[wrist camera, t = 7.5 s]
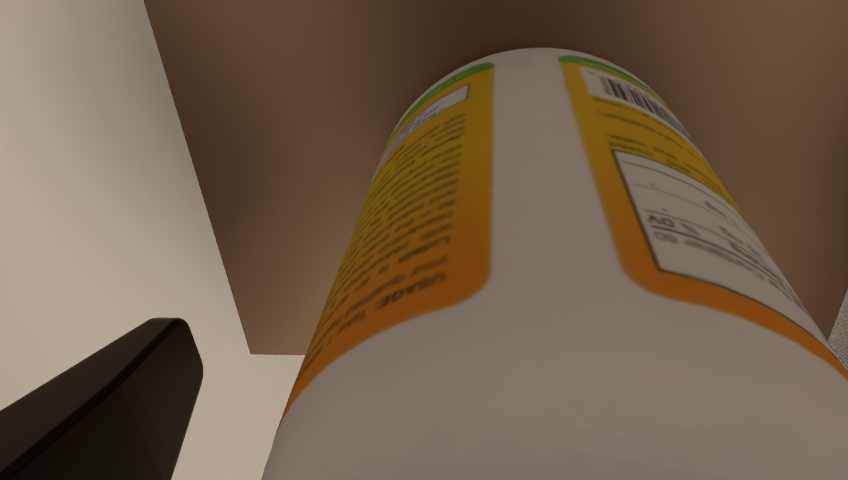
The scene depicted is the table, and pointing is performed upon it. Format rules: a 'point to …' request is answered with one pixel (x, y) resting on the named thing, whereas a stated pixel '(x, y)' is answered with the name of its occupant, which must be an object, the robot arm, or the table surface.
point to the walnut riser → (456, 47)
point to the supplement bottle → (558, 303)
